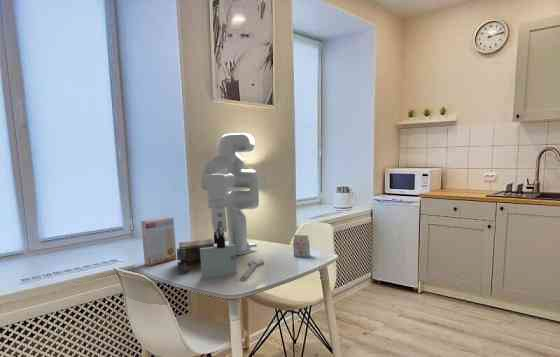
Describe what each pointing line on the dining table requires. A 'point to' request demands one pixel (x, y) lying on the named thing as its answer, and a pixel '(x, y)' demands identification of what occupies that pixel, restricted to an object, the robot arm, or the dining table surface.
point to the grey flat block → (218, 261)
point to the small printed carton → (301, 246)
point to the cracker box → (158, 240)
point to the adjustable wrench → (251, 269)
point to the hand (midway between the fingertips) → (219, 245)
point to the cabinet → (191, 254)
